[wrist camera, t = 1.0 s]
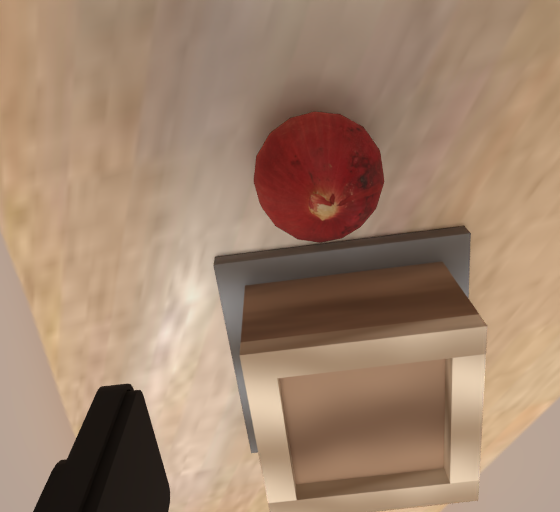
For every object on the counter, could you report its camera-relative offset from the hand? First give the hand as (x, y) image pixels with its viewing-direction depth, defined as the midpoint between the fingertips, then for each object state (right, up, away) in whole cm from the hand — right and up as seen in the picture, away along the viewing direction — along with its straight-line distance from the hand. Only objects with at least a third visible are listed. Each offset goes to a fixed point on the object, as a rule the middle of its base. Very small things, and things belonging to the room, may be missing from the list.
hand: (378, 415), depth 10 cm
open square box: (+2, -2, +22) cm, 22 cm away
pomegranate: (0, +8, +17) cm, 19 cm away
